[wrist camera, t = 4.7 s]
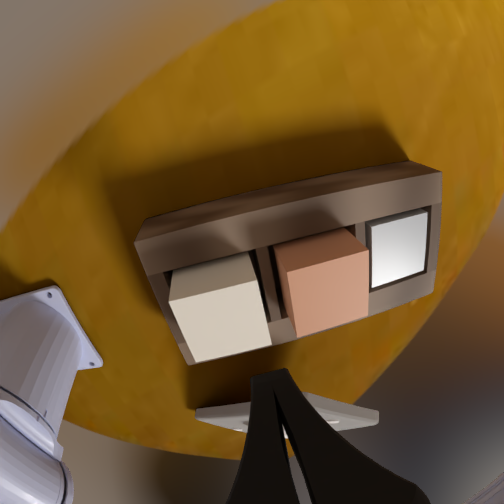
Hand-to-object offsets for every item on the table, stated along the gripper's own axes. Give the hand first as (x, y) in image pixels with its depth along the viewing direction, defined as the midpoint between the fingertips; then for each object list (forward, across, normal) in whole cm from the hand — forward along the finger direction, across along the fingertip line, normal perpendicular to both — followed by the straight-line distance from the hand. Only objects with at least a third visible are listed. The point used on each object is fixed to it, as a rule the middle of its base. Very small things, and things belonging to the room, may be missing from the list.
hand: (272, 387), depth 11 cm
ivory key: (+8, +1, 0) cm, 8 cm away
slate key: (+10, -10, 0) cm, 14 cm away
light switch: (+10, 0, +13) cm, 17 cm away
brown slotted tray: (+10, -4, 0) cm, 11 cm away
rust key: (+7, -4, 0) cm, 8 cm away
